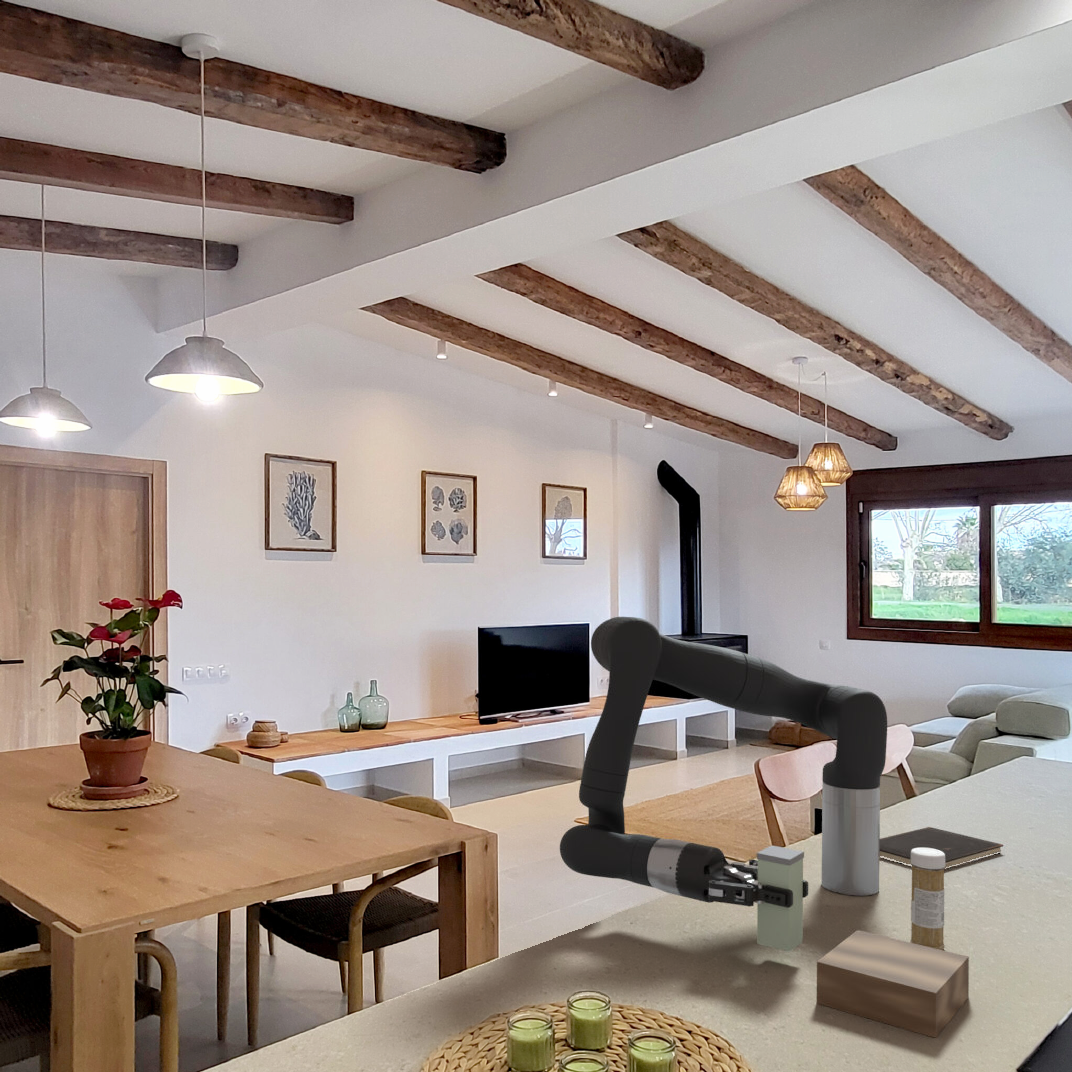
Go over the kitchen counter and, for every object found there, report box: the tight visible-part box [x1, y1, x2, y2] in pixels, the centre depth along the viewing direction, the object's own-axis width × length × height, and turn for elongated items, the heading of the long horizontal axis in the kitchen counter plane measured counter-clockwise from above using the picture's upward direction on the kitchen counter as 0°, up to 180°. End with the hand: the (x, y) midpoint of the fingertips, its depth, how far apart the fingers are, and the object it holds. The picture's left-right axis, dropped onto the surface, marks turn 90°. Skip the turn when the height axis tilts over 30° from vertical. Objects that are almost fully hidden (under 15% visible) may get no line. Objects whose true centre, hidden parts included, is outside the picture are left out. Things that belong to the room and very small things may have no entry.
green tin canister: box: [756, 845, 805, 953], centre depth 134 cm, size 5×5×12 cm
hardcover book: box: [880, 826, 1004, 868], centre depth 188 cm, size 16×23×2 cm
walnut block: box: [816, 929, 970, 1039], centre depth 123 cm, size 14×14×5 cm
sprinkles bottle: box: [910, 848, 945, 951], centre depth 141 cm, size 5×5×14 cm
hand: (799, 894), depth 133 cm, fingers closed on green tin canister, 4 cm apart
